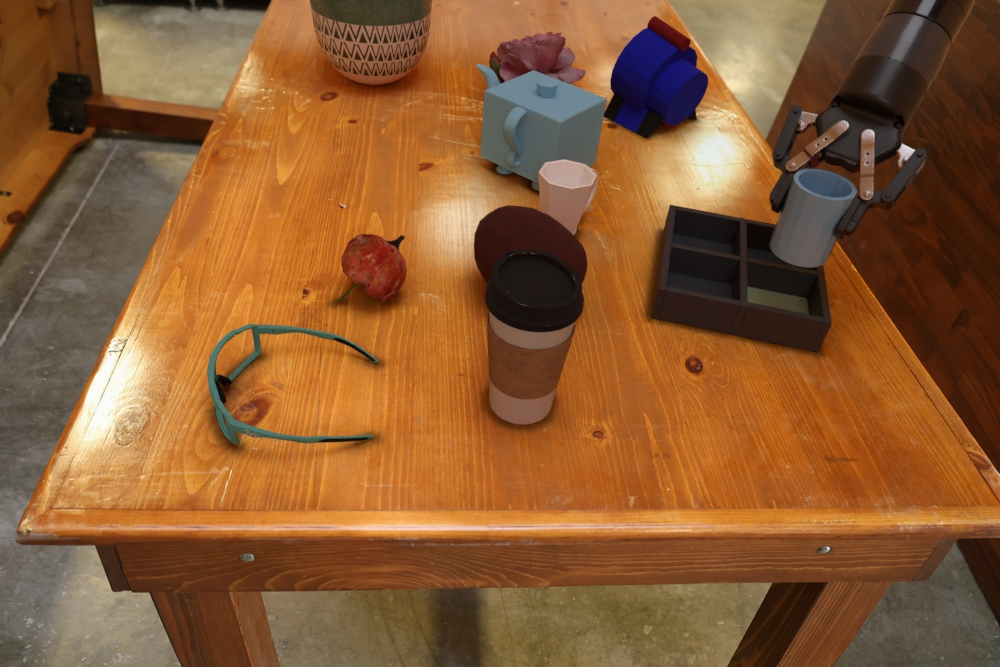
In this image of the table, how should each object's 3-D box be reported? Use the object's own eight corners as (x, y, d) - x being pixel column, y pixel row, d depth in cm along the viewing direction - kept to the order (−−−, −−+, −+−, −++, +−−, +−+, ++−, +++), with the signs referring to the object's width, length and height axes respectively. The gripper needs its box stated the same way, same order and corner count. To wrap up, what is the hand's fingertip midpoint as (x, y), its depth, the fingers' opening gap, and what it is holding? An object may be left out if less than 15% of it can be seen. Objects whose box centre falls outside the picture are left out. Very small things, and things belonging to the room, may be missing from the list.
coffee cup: (524, 360, 78) (541, 235, 68) (582, 409, 73) (609, 283, 63) (458, 394, 73) (465, 266, 64) (515, 449, 69) (533, 320, 59)
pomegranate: (365, 337, 82) (436, 277, 81) (317, 297, 77) (392, 233, 76) (351, 301, 87) (418, 244, 86) (306, 262, 83) (376, 201, 82)
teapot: (603, 167, 110) (620, 79, 101) (537, 207, 100) (549, 114, 92) (506, 124, 118) (513, 39, 109) (436, 158, 108) (438, 67, 100)
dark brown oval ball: (545, 348, 79) (558, 266, 73) (446, 294, 85) (450, 214, 78) (600, 299, 86) (617, 220, 80) (506, 252, 92) (514, 175, 85)
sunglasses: (225, 346, 76) (223, 307, 72) (378, 359, 78) (382, 321, 75) (192, 457, 65) (188, 416, 62) (371, 468, 68) (375, 429, 64)
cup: (519, 229, 96) (526, 171, 91) (568, 201, 102) (577, 145, 97) (563, 253, 93) (573, 194, 87) (611, 223, 99) (623, 166, 93)
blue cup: (825, 241, 82) (853, 174, 77) (830, 272, 78) (860, 204, 73) (768, 230, 83) (792, 163, 78) (770, 261, 79) (795, 192, 73)
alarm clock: (648, 97, 130) (668, 5, 120) (707, 125, 123) (733, 30, 113) (599, 113, 123) (616, 18, 113) (658, 144, 117) (681, 45, 107)
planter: (410, 51, 137) (410, -83, 123) (450, 96, 124) (456, -48, 110) (300, 60, 130) (287, -80, 116) (331, 109, 117) (321, -42, 103)
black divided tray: (807, 260, 96) (818, 232, 93) (818, 352, 82) (832, 323, 80) (662, 232, 98) (669, 204, 95) (650, 317, 85) (658, 288, 82)
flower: (603, 80, 126) (594, 18, 121) (544, 115, 119) (531, 51, 113) (538, 76, 136) (526, 18, 130) (479, 108, 129) (464, 48, 123)
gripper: (821, 33, 76) (736, 182, 76) (973, 79, 70) (880, 240, 70) (821, 71, 83) (743, 208, 83) (960, 116, 77) (875, 263, 77)
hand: (806, 222), depth 77 cm, fingers closed on blue cup, 6 cm apart
